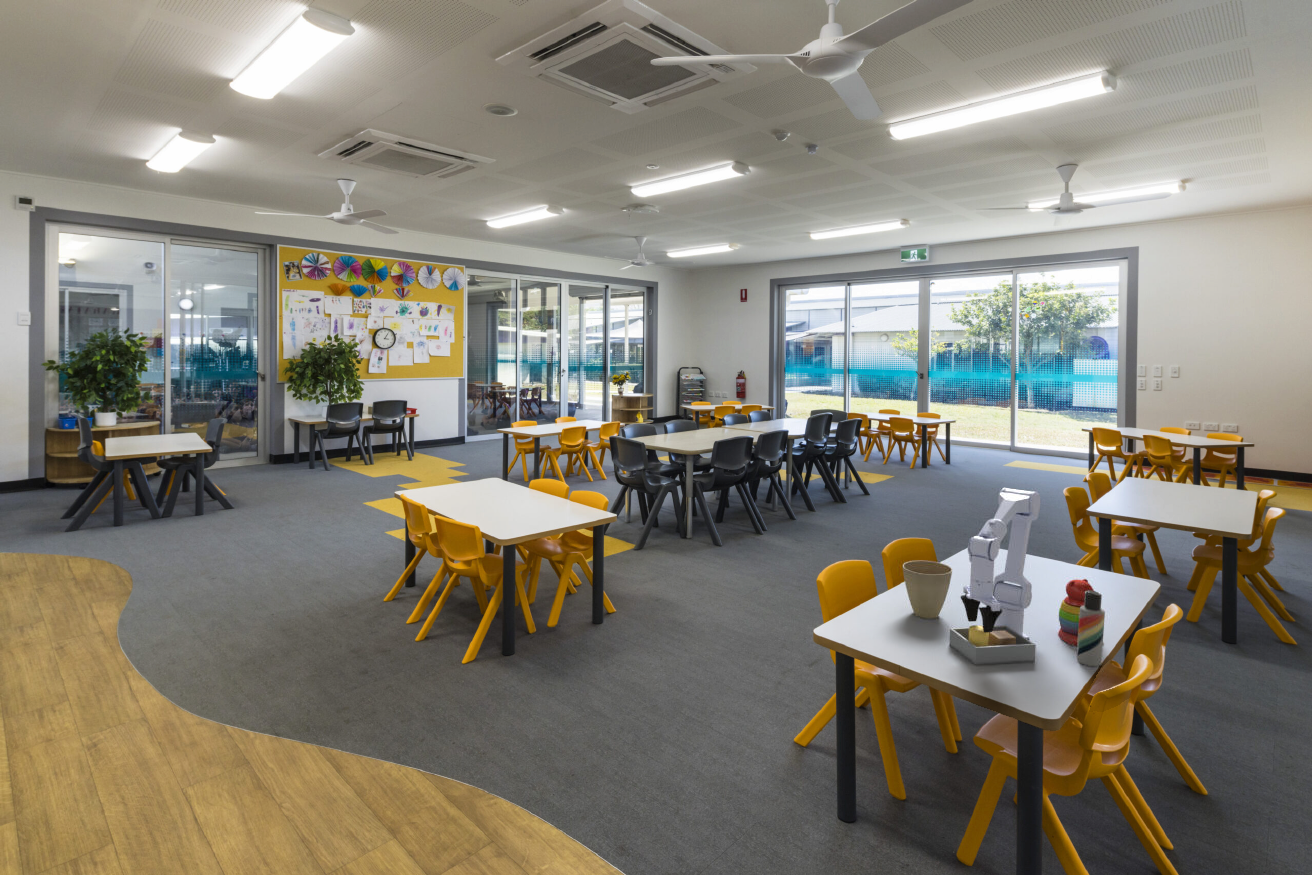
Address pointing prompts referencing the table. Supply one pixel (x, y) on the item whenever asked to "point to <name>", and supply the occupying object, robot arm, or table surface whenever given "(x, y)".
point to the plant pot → (927, 586)
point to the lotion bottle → (1091, 630)
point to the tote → (993, 648)
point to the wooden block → (1001, 638)
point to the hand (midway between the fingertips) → (979, 626)
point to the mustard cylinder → (978, 636)
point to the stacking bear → (1072, 610)
